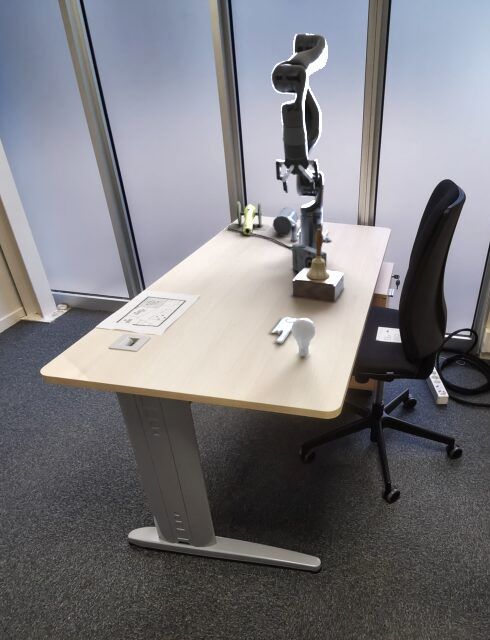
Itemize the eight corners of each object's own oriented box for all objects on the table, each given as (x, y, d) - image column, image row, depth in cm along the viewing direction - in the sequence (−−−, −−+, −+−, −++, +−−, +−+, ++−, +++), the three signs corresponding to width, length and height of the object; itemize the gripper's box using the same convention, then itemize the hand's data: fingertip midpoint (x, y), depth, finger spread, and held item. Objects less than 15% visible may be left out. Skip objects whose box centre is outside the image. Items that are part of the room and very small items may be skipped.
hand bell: (333, 273, 157) (334, 227, 148) (324, 281, 150) (325, 233, 142) (311, 269, 159) (311, 224, 150) (302, 277, 152) (301, 230, 143)
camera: (290, 268, 176) (290, 243, 171) (298, 266, 179) (297, 241, 173) (319, 280, 167) (319, 254, 162) (326, 278, 170) (326, 252, 164)
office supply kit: (329, 244, 205) (329, 224, 200) (269, 240, 206) (268, 219, 201) (336, 222, 238) (337, 204, 233) (285, 218, 239) (284, 200, 234)
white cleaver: (264, 341, 127) (264, 337, 126) (282, 319, 139) (282, 316, 138) (281, 343, 126) (281, 340, 125) (297, 321, 138) (297, 318, 137)
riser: (292, 296, 154) (292, 279, 151) (303, 283, 165) (303, 266, 161) (334, 302, 152) (335, 285, 148) (343, 288, 162) (343, 272, 159)
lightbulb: (292, 349, 124) (291, 313, 117) (315, 349, 124) (315, 313, 118) (291, 361, 118) (290, 324, 112) (315, 361, 119) (315, 324, 113)
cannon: (260, 235, 211) (258, 211, 205) (234, 235, 210) (232, 210, 203) (262, 222, 231) (261, 199, 225) (239, 221, 230) (237, 198, 224)
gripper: (317, 137, 145) (320, 188, 156) (274, 137, 145) (280, 188, 156) (316, 144, 139) (318, 196, 151) (271, 144, 140) (277, 196, 151)
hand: (299, 192), depth 153 cm, fingers open, 8 cm apart
